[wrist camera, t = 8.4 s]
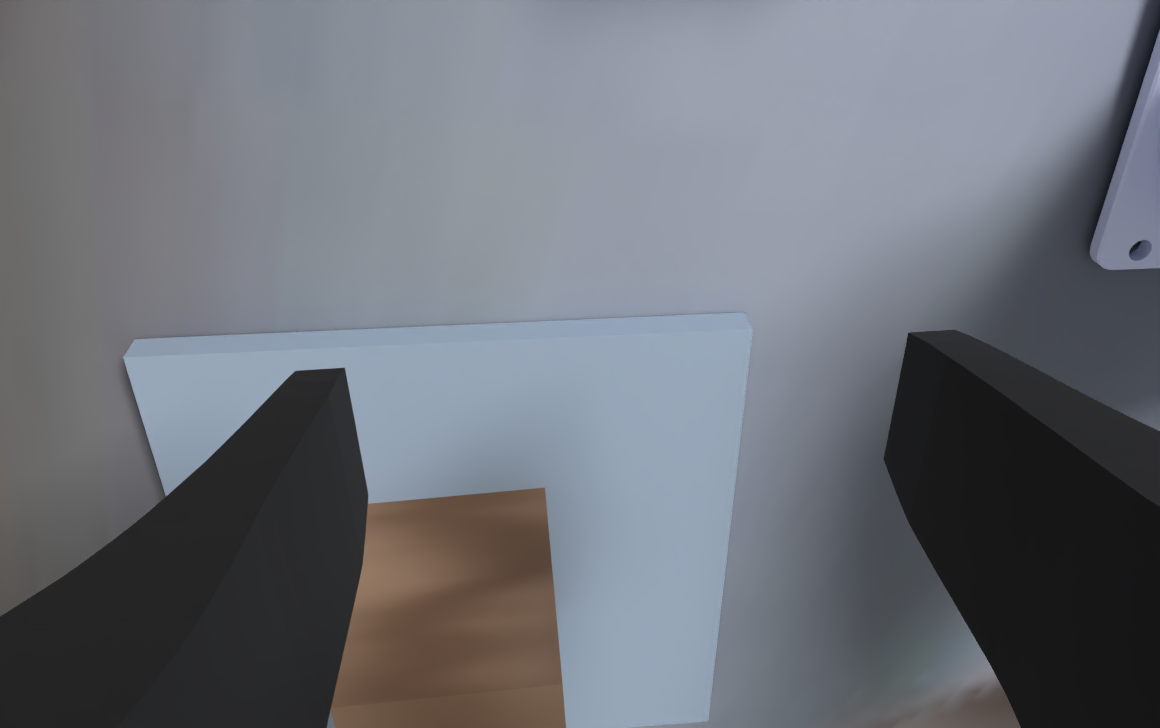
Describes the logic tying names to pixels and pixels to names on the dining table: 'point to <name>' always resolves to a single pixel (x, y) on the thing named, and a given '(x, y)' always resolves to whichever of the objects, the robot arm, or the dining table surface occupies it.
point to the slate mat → (527, 464)
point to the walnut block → (454, 617)
